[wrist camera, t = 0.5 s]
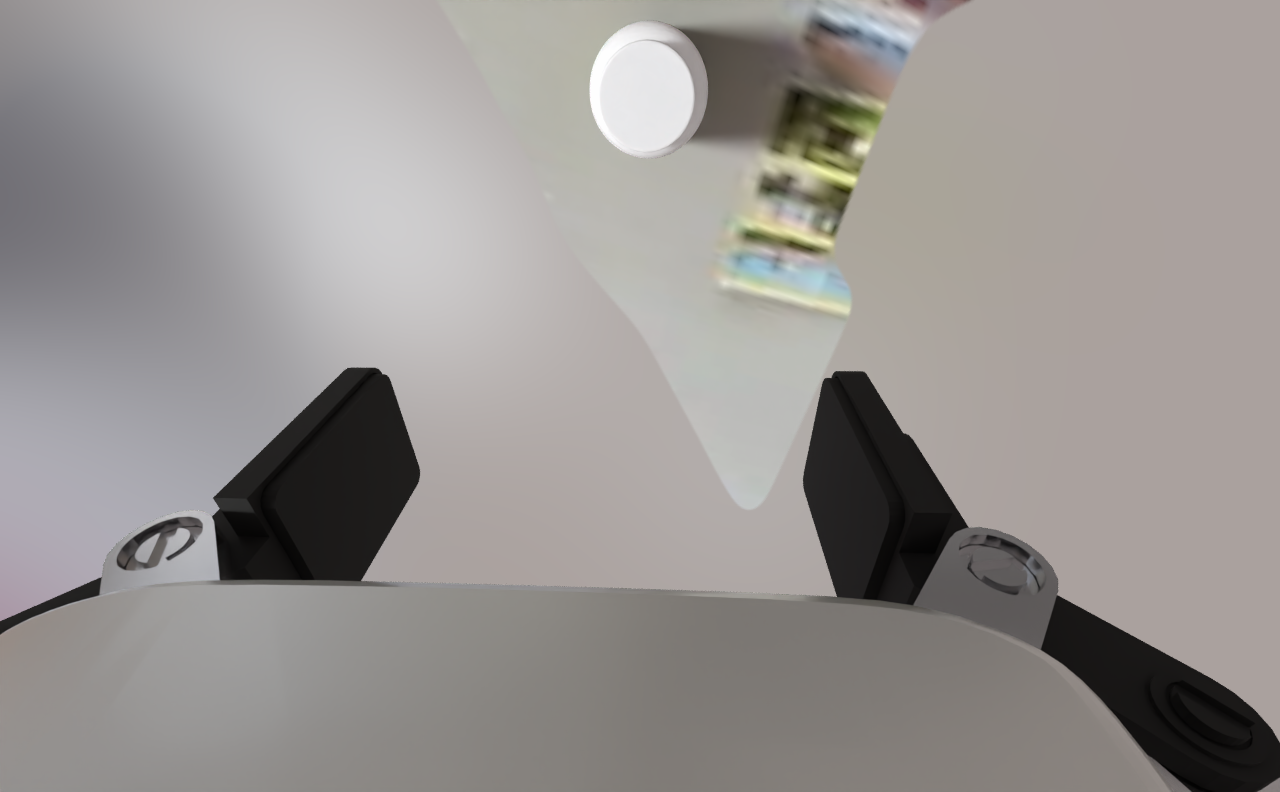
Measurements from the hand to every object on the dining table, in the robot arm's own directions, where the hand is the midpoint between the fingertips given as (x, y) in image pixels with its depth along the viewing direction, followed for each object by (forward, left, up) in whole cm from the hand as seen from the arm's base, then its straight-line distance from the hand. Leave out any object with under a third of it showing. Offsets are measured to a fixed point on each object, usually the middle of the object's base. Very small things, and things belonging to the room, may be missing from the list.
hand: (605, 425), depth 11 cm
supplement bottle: (-5, 0, -25) cm, 25 cm away
